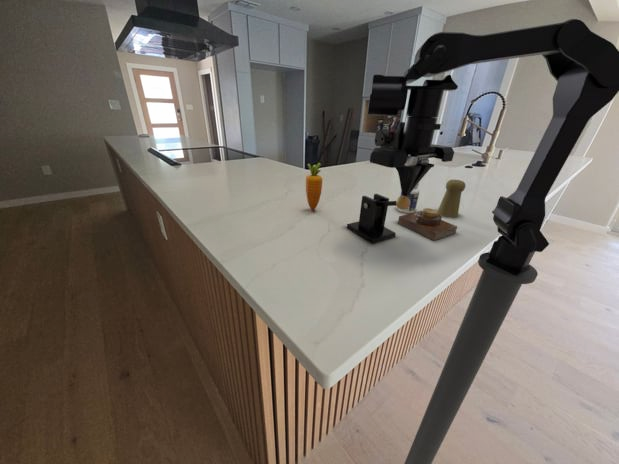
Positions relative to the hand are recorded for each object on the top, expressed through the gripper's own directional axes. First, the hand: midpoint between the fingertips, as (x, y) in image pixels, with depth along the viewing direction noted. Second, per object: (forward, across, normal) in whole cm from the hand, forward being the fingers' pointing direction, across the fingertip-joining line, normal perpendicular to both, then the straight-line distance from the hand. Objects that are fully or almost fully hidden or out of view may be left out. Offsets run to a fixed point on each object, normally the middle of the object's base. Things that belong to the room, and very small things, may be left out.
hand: (405, 195), depth 55 cm
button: (+9, -16, -4) cm, 19 cm away
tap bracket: (+13, 0, -8) cm, 15 cm away
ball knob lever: (+5, 0, -4) cm, 6 cm away
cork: (+13, -32, -8) cm, 35 cm away
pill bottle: (+13, -22, -16) cm, 30 cm away
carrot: (+13, +6, -28) cm, 32 cm away
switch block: (+13, -16, -4) cm, 21 cm away
